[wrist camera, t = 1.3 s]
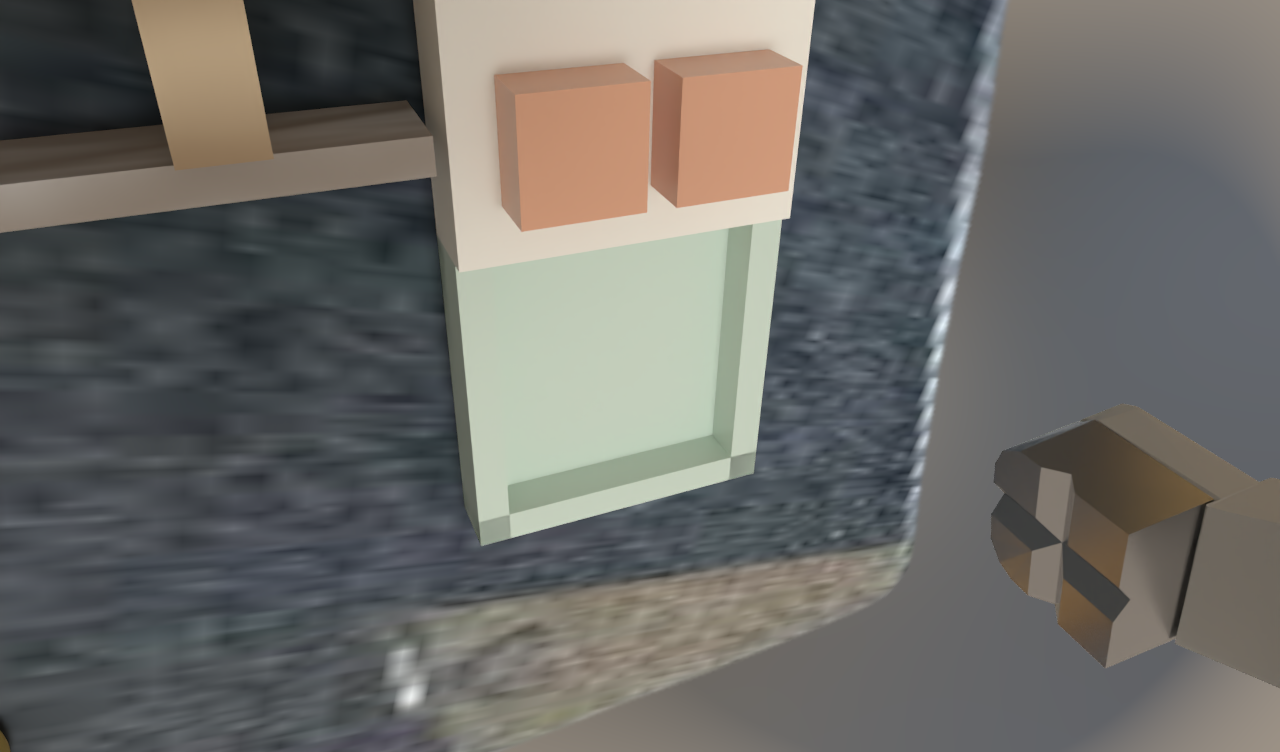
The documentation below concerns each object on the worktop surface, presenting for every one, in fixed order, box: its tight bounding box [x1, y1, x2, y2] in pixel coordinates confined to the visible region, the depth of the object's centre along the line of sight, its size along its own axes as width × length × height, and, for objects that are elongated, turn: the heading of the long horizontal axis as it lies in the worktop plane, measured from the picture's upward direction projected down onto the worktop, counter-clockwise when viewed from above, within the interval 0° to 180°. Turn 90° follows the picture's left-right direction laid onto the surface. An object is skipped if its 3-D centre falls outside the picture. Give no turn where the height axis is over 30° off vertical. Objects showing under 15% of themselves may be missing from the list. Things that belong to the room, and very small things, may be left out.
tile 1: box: [494, 63, 651, 232], centre depth 28 cm, size 4×4×2 cm
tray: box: [437, 220, 782, 546], centre depth 37 cm, size 12×12×2 cm
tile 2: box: [651, 49, 803, 208], centre depth 30 cm, size 4×4×2 cm
